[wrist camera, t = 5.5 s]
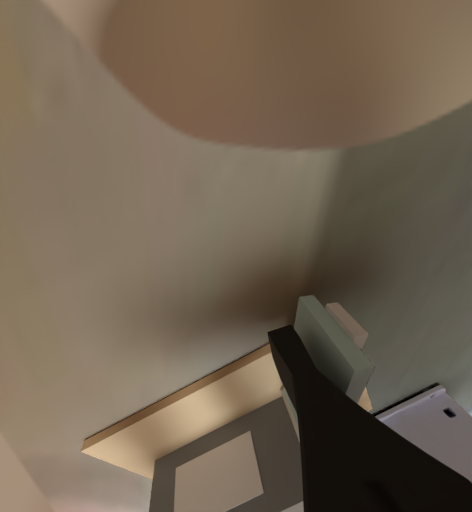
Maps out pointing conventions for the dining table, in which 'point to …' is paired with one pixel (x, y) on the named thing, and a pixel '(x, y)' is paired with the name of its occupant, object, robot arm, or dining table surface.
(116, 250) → the dining table surface
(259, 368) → the beech board
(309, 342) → the grey-green rectangular block
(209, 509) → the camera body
